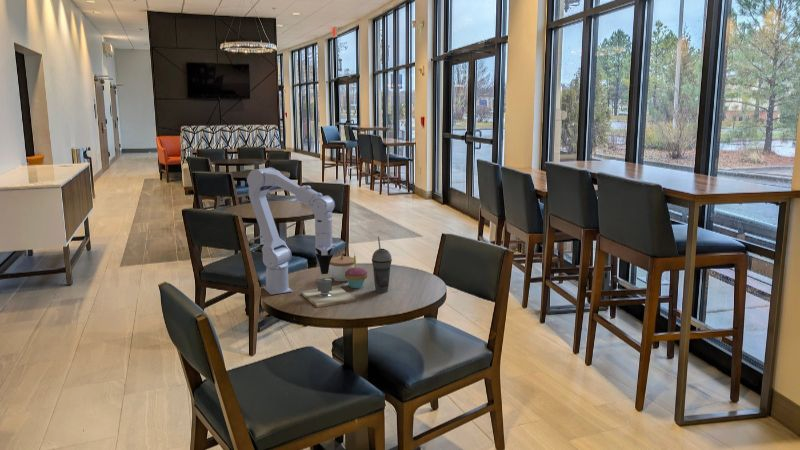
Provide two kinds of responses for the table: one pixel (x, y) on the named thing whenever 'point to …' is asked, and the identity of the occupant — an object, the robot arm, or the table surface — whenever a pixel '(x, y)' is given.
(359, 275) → the cupcake
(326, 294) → the stud
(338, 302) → the board
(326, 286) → the cap
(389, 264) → the beverage cup
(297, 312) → the table surface
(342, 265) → the lidded jar
